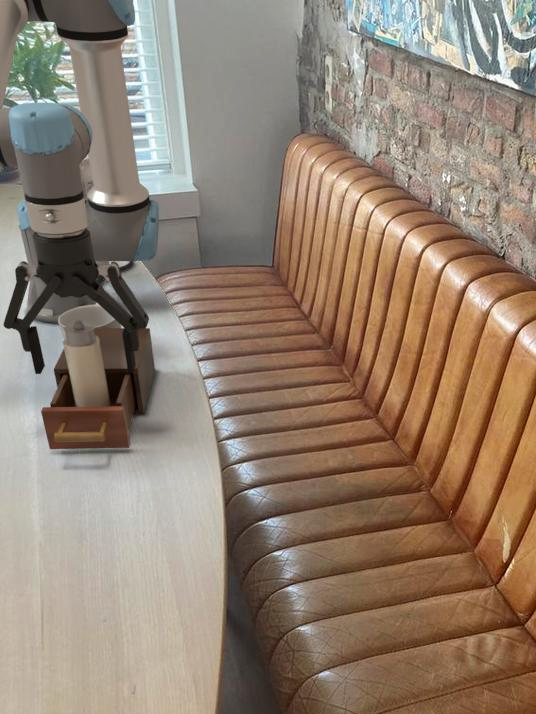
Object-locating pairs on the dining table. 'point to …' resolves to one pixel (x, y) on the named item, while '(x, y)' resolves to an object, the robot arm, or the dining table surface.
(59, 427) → the drawer
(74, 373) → the pepper mill
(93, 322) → the teacup
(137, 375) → the cabinet
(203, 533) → the dining table surface
